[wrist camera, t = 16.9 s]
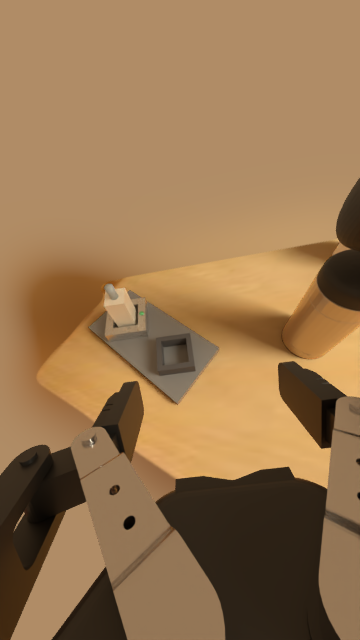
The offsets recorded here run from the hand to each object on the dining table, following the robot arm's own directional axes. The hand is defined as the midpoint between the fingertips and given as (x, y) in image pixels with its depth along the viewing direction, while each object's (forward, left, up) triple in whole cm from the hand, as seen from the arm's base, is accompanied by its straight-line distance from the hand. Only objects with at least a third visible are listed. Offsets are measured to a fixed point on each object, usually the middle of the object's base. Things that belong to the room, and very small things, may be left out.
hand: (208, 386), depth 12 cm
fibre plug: (-7, -27, -29) cm, 41 cm away
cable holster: (-7, -13, -29) cm, 33 cm away
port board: (-7, -21, -31) cm, 38 cm away
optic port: (-7, -27, -29) cm, 41 cm away
